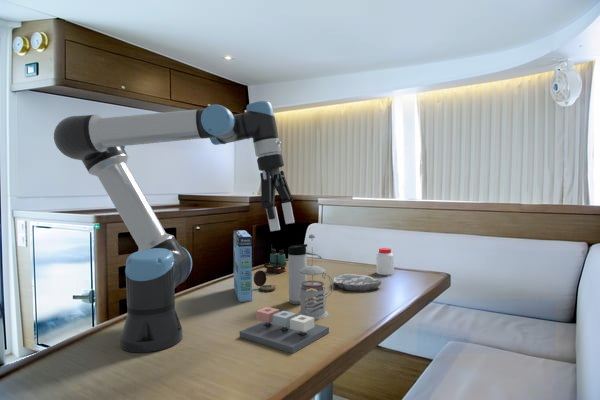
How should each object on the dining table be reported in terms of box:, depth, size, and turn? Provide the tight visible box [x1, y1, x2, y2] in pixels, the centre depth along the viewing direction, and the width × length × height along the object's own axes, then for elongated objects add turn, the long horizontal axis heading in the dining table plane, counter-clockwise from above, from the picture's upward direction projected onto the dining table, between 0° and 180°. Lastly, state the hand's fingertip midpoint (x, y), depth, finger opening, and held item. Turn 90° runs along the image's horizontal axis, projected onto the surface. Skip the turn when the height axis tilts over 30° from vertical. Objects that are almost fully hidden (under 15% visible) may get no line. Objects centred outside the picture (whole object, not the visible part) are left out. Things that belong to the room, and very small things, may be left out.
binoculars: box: [263, 248, 287, 274], centre depth 182 cm, size 9×11×10 cm
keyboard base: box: [239, 321, 330, 354], centre depth 105 cm, size 16×18×2 cm
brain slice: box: [332, 273, 382, 292], centre depth 155 cm, size 20×17×3 cm
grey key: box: [273, 310, 297, 330], centre depth 105 cm, size 4×4×4 cm
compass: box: [253, 269, 278, 293], centre depth 152 cm, size 8×8×7 cm
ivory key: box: [290, 315, 315, 335], centre depth 102 cm, size 4×4×4 cm
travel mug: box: [287, 243, 308, 305], centre depth 135 cm, size 6×7×20 cm
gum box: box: [232, 230, 253, 303], centre depth 145 cm, size 20×5×23 cm, turn 14°
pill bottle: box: [375, 247, 395, 276], centre depth 177 cm, size 8×8×11 cm
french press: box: [296, 234, 334, 320], centre depth 122 cm, size 10×12×25 cm
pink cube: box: [255, 306, 280, 325], centre depth 109 cm, size 4×4×4 cm
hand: (283, 226), depth 115 cm, fingers open, 13 cm apart
